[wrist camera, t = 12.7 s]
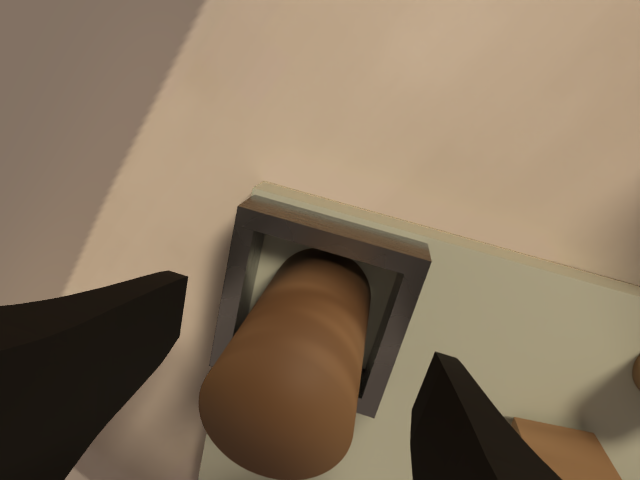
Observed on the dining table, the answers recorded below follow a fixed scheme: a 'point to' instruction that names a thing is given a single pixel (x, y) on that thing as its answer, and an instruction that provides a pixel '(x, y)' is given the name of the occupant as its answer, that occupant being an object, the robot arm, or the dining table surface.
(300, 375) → the loose leg
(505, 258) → the seat board
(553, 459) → the folding leg
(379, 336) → the socket
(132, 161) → the dining table surface
